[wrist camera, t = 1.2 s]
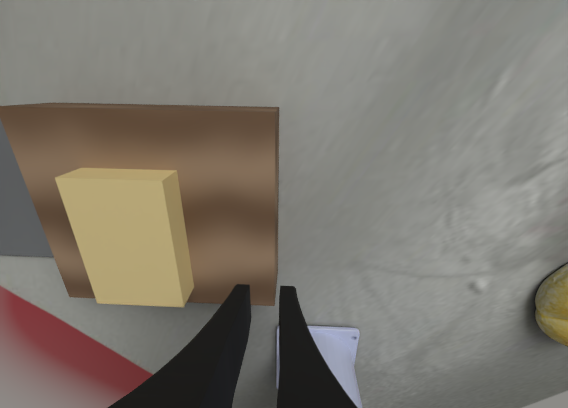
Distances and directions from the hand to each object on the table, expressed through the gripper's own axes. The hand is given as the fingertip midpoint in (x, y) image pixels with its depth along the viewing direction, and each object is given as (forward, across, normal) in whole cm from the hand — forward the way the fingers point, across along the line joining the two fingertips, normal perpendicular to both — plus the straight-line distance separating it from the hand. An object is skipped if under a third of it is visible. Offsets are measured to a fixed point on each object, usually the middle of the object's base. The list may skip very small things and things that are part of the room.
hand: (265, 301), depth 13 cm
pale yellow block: (+6, +9, 0) cm, 11 cm away
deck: (+10, +8, -1) cm, 13 cm away
